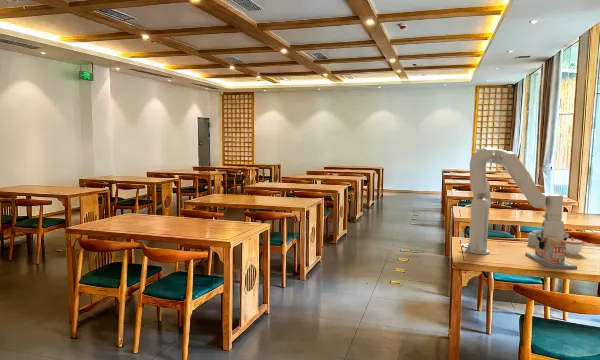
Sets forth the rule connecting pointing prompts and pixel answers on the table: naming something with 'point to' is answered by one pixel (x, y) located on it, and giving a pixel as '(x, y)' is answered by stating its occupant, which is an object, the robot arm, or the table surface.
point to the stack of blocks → (552, 250)
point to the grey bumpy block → (532, 238)
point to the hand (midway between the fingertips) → (550, 249)
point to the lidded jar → (573, 246)
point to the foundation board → (544, 262)
